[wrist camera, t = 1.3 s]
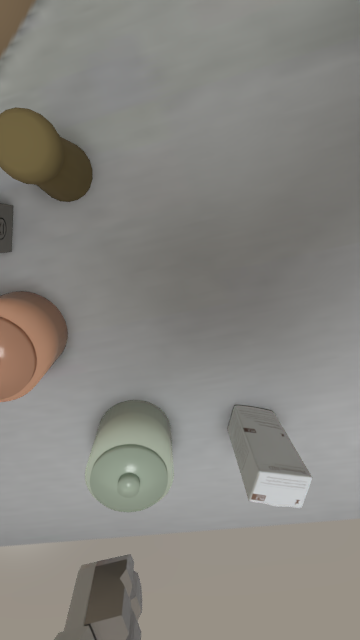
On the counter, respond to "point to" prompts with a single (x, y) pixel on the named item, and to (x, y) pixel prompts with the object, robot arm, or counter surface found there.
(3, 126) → the cork
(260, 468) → the skincare box
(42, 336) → the terracotta canister
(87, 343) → the counter surface
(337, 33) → the counter surface
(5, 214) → the dice cube
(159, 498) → the sage canister
